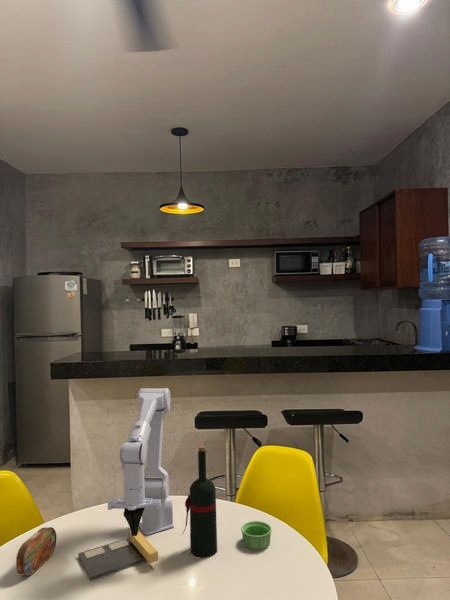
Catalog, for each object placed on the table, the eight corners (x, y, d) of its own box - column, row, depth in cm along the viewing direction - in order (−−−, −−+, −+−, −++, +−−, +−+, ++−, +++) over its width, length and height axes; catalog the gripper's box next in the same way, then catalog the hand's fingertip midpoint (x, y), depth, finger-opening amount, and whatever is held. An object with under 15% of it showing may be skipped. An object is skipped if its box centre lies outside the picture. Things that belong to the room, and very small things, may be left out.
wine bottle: (185, 542, 132) (183, 442, 132) (219, 543, 131) (217, 442, 131) (179, 557, 124) (177, 450, 124) (215, 558, 123) (213, 451, 123)
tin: (24, 582, 114) (24, 550, 114) (13, 581, 115) (13, 549, 115) (57, 550, 129) (57, 521, 129) (48, 549, 129) (47, 521, 129)
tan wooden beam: (127, 537, 132) (126, 529, 132) (135, 534, 133) (135, 526, 133) (149, 563, 118) (149, 555, 118) (158, 560, 120) (158, 551, 120)
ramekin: (244, 533, 136) (243, 519, 136) (273, 536, 134) (272, 522, 134) (239, 549, 127) (238, 534, 127) (270, 552, 126) (269, 537, 126)
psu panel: (135, 538, 134) (135, 534, 134) (151, 559, 123) (151, 554, 123) (78, 556, 125) (78, 551, 125) (90, 580, 114) (90, 575, 114)
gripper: (104, 491, 119) (105, 542, 119) (157, 491, 118) (158, 541, 118) (111, 481, 126) (112, 528, 126) (161, 480, 125) (162, 528, 125)
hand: (135, 534), depth 122 cm, fingers closed
